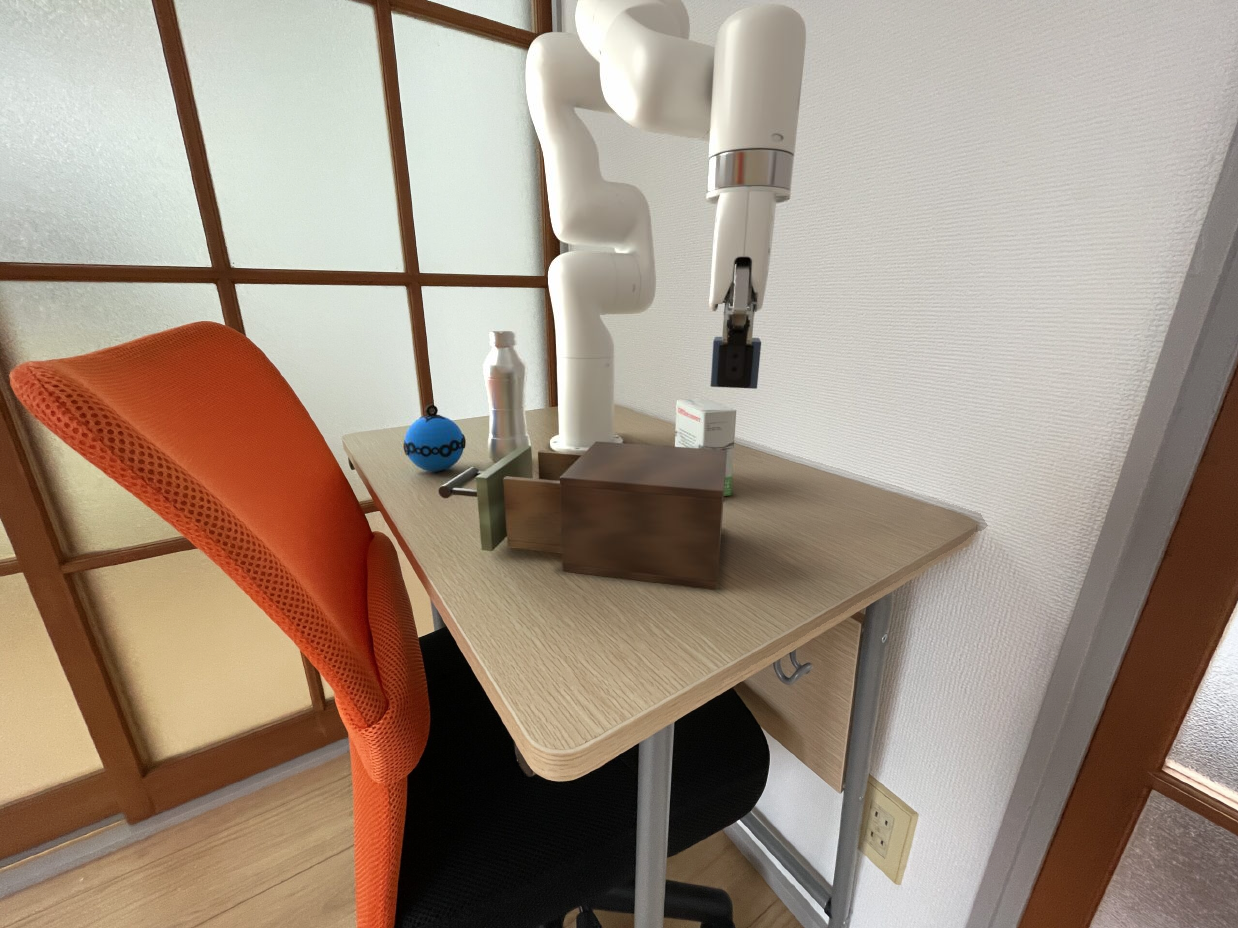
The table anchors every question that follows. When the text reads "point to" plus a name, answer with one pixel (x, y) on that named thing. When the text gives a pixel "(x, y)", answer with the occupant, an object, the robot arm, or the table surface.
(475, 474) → the drawer
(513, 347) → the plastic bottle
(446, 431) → the ornament
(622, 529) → the cabinet
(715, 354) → the block
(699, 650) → the table surface
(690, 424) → the ink box
